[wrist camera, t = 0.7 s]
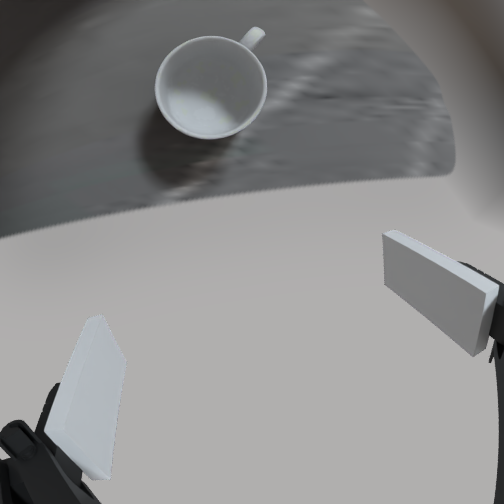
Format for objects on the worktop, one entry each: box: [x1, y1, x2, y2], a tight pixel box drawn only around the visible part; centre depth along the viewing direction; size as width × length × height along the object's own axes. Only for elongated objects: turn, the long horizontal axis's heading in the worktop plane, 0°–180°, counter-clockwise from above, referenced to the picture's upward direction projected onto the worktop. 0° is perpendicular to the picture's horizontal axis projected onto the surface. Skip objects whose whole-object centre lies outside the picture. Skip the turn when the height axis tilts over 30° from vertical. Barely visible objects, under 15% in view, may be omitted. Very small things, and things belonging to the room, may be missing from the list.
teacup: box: [155, 27, 267, 139], centre depth 31 cm, size 14×11×8 cm
